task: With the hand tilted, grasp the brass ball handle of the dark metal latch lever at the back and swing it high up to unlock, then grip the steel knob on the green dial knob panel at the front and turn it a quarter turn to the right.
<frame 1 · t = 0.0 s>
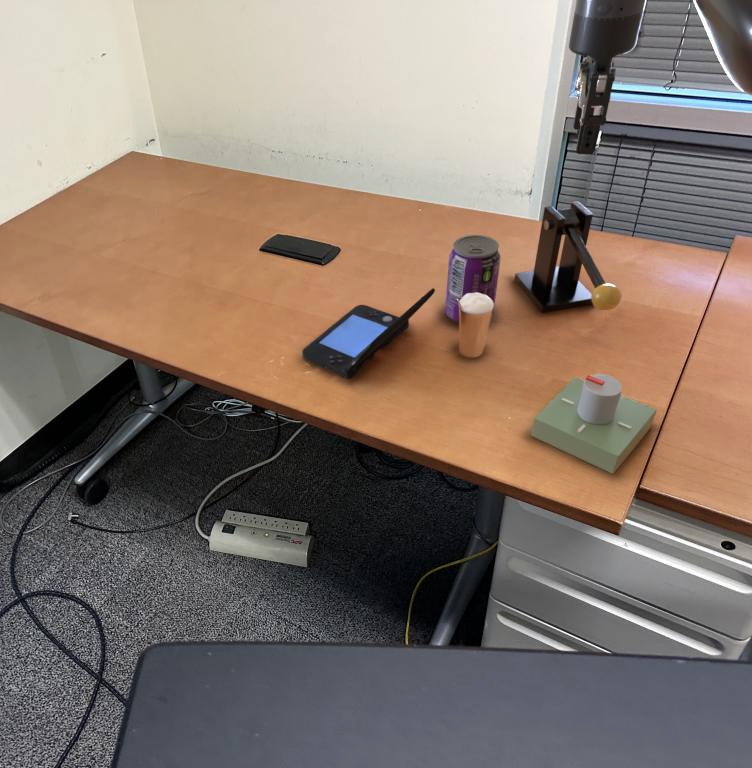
hand: (583, 140, 92), 24 cm above the table, tool pointing down, fingers open, 8 cm apart
latch lever: (586, 259, 96), point 10 cm above the table, hinge at -20.0°
latch bracket: (552, 291, 107), on the table
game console: (366, 349, 102), on the table
beverage can: (468, 315, 105), on the table
milkshake: (468, 352, 99), on the table
green dial knob panel: (590, 431, 84), on the table
lock knob: (599, 398, 80), point 5 cm above the table, hinge at 0.0°
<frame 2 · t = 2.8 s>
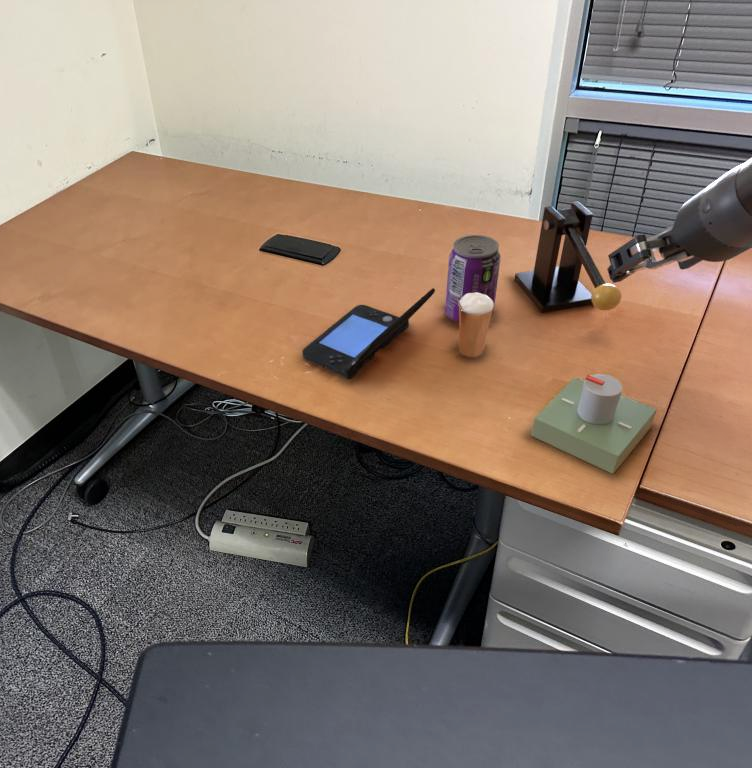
hand: (646, 268, 84), 15 cm above the table, tool tilted 40°, fingers open, 8 cm apart
nothing on the table moved.
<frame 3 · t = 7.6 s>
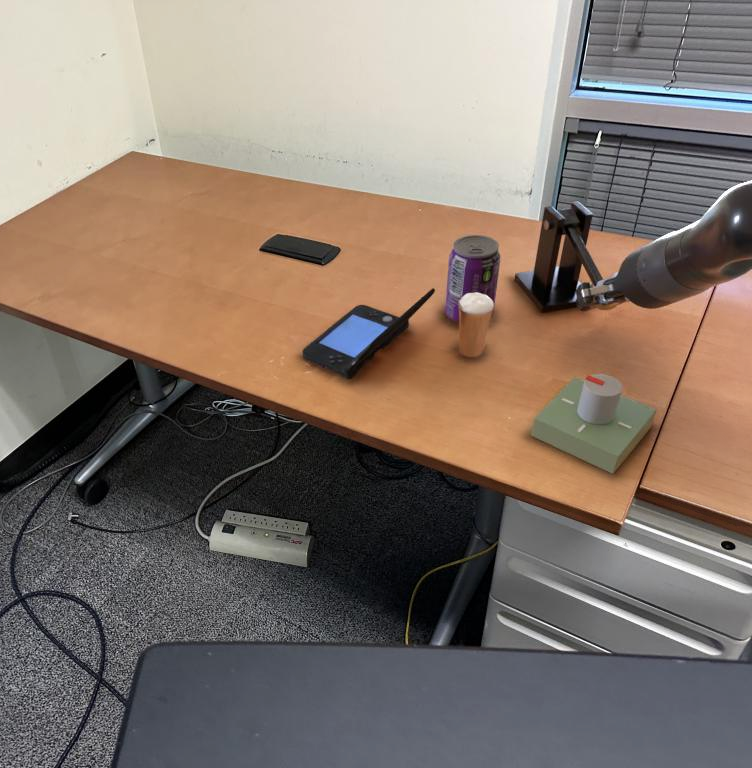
hand: (595, 301, 95), 5 cm above the table, tool tilted 45°, fingers closed on latch lever, 3 cm apart
latch lever: (586, 259, 96), point 10 cm above the table, hinge at -20.0°, touching gripper
everything else where it was.
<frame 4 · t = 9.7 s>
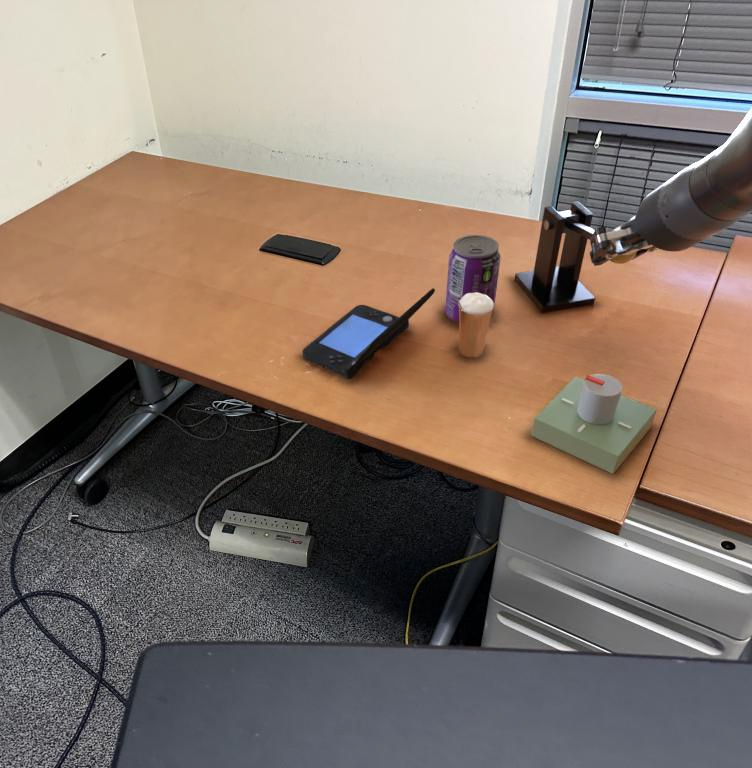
hand: (611, 255, 90), 13 cm above the table, tool tilted 45°, fingers closed on latch lever, 3 cm apart
latch lever: (592, 235, 93), point 13 cm above the table, hinge at 11.4°, touching gripper
everything else where it was.
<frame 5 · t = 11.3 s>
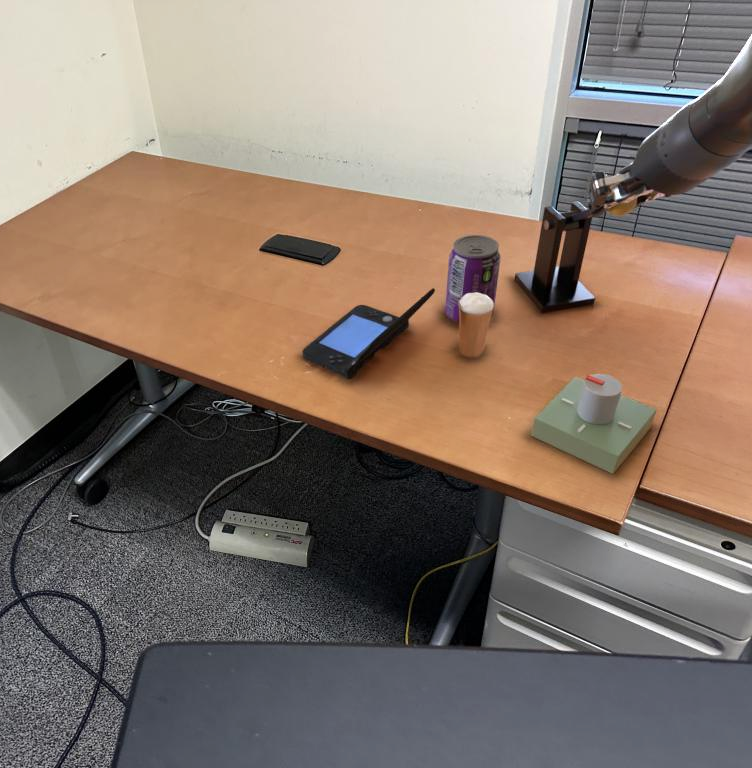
hand: (609, 207, 88), 19 cm above the table, tool tilted 45°, fingers closed on latch lever, 3 cm apart
latch lever: (592, 211, 92), point 16 cm above the table, hinge at 36.3°, touching gripper
everything else where it was.
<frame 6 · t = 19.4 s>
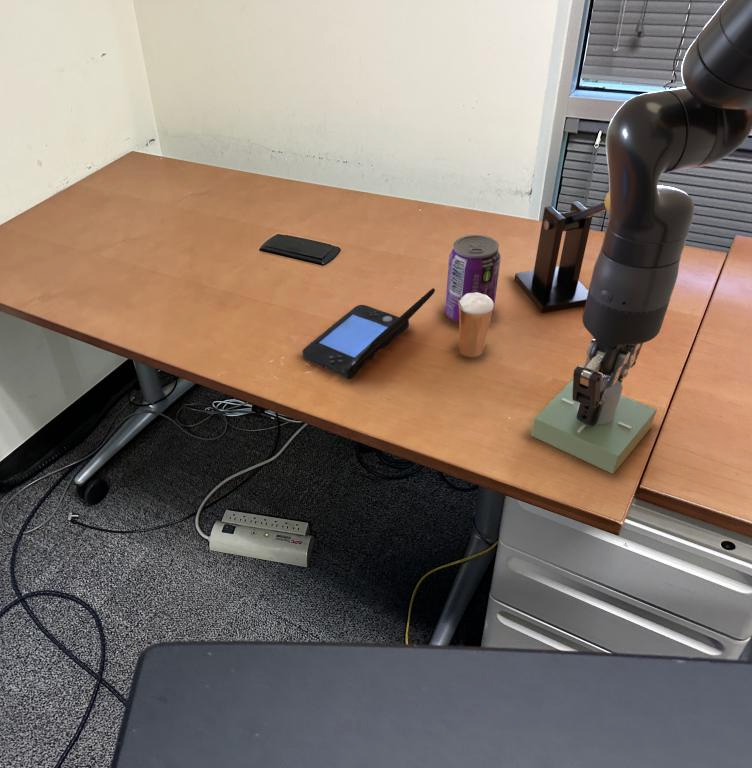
hand: (596, 410, 82), 3 cm above the table, tool pointing down, fingers closed on lock knob, 4 cm apart
latch lever: (592, 211, 92), point 16 cm above the table, hinge at 36.6°
lock knob: (599, 398, 80), point 5 cm above the table, hinge at 0.3°, touching gripper
everything else where it was.
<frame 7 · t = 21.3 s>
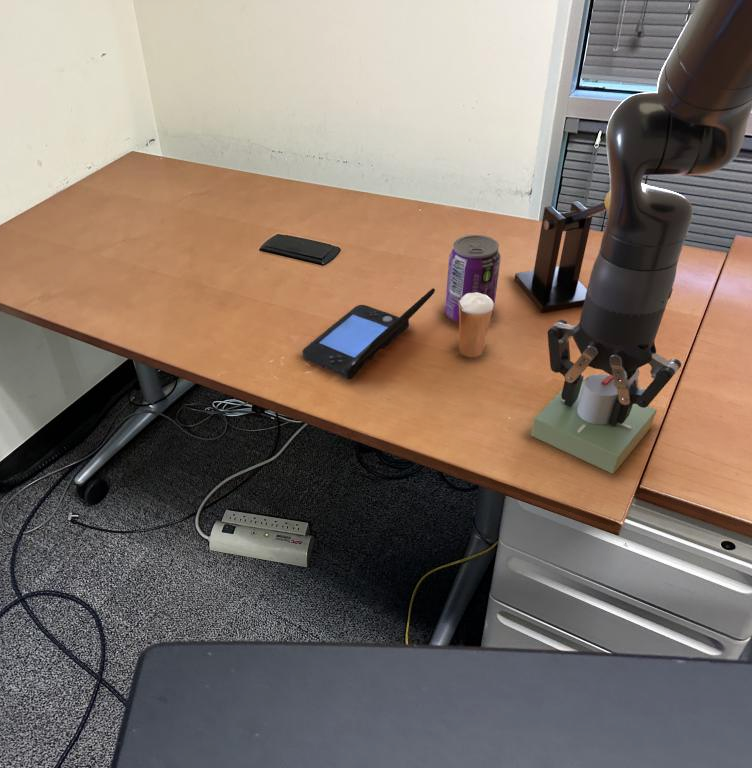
hand: (592, 411, 82), 3 cm above the table, tool pointing down, fingers open, 4 cm apart
lock knob: (599, 398, 80), point 5 cm above the table, hinge at -93.3°
everything else where it was.
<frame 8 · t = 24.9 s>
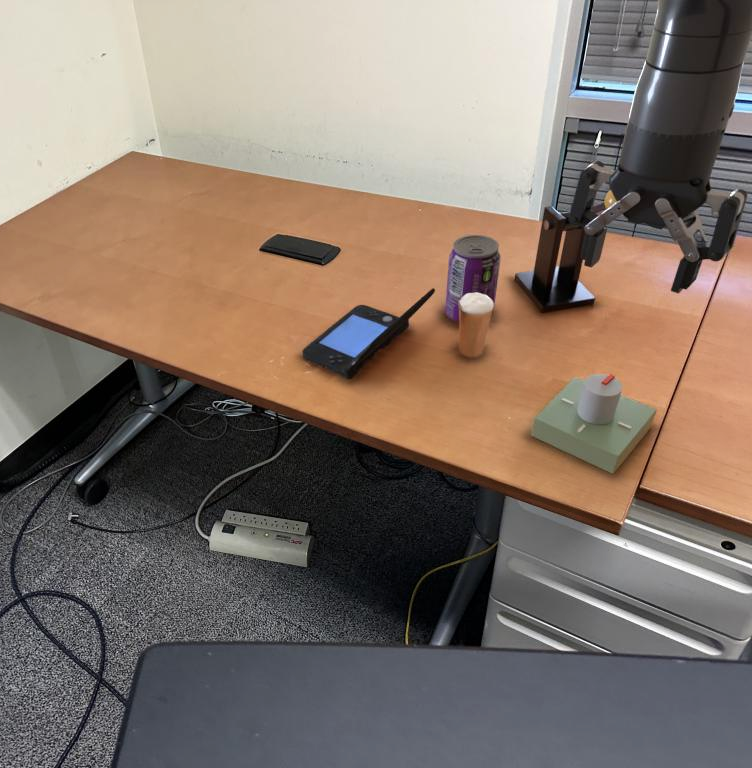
hand: (633, 276, 70), 22 cm above the table, tool pointing down, fingers open, 8 cm apart
nothing on the table moved.
at the end: latch lever at +37° (first picture: -20°); lock knob at -93° (first picture: +0°) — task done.
